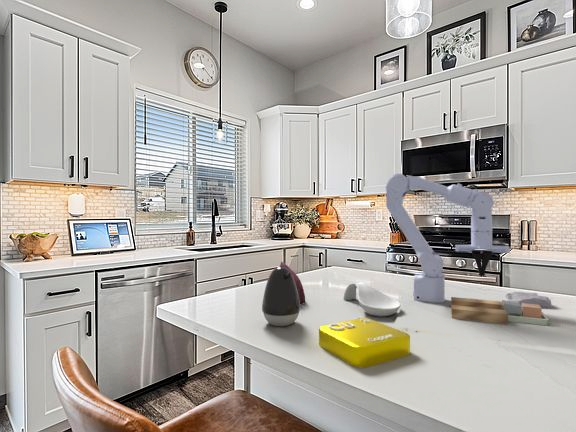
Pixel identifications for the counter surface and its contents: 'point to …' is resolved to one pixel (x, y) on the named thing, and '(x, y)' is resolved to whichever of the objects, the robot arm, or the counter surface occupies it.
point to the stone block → (529, 299)
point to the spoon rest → (372, 299)
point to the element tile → (364, 342)
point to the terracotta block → (531, 310)
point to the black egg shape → (281, 298)
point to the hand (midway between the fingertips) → (481, 275)
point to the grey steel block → (511, 308)
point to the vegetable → (297, 282)
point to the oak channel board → (478, 310)
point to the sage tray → (530, 320)
